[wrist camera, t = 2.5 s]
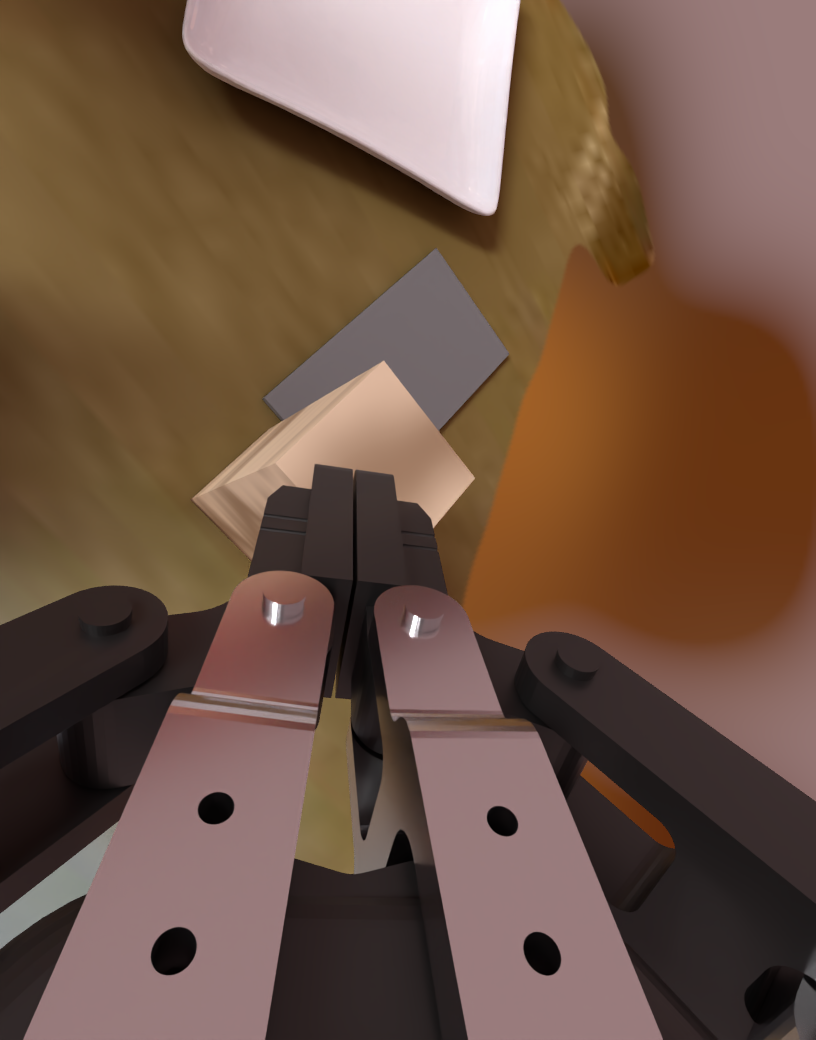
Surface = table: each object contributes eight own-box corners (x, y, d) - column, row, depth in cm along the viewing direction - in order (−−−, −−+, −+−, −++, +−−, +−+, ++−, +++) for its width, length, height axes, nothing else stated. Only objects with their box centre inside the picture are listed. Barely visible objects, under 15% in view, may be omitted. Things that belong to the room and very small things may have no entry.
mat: (262, 398, 35) (264, 397, 34) (433, 250, 42) (436, 247, 41) (361, 511, 38) (364, 511, 37) (505, 355, 44) (509, 353, 44)
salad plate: (471, 242, 44) (502, 219, 41) (167, 90, 33) (179, 44, 30) (498, -8, 47) (528, -46, 44) (225, -221, 36) (241, -290, 33)
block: (190, 499, 32) (275, 463, 20) (267, 429, 35) (384, 360, 23) (267, 576, 34) (385, 584, 22) (335, 505, 37) (474, 478, 25)
